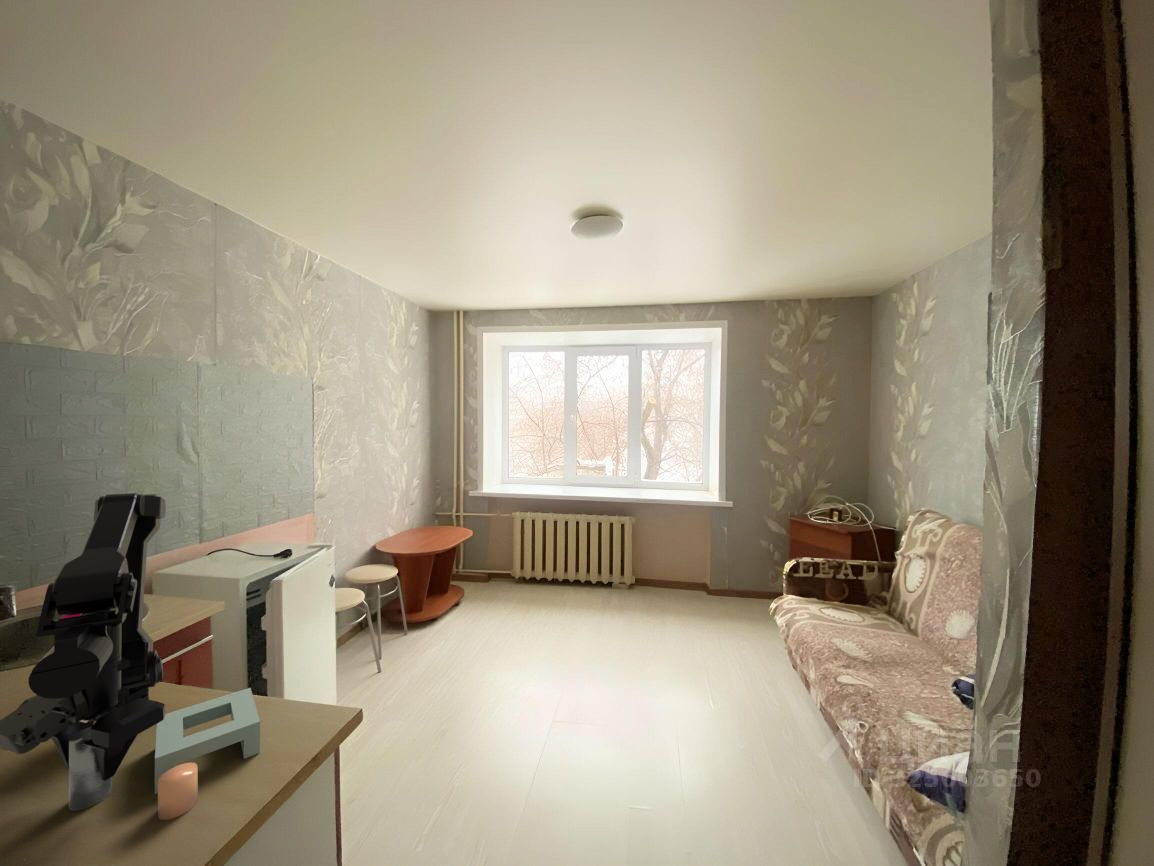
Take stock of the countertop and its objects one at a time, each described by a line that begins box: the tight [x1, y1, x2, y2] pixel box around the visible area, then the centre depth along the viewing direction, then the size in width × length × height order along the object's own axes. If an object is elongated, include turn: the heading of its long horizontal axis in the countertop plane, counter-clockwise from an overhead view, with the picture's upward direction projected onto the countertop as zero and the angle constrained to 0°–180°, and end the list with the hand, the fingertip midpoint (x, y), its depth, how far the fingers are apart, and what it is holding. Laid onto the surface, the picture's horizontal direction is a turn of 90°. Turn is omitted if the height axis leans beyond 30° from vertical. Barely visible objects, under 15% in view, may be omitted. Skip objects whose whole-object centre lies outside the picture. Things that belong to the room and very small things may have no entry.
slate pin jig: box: [154, 687, 261, 795], centre depth 70 cm, size 12×12×5 cm
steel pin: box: [68, 727, 113, 812], centre depth 61 cm, size 4×4×9 cm
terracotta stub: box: [157, 762, 199, 821], centre depth 60 cm, size 4×4×4 cm
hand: (91, 773), depth 61 cm, fingers open, 6 cm apart
